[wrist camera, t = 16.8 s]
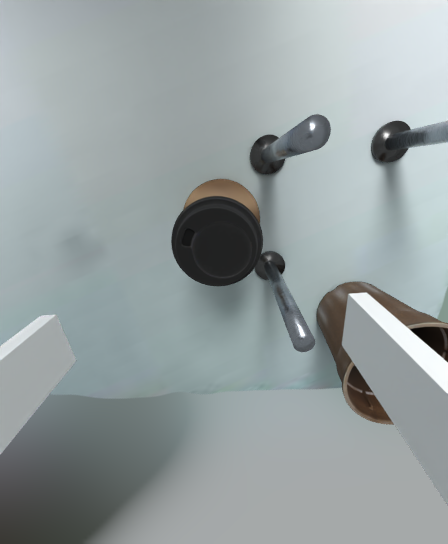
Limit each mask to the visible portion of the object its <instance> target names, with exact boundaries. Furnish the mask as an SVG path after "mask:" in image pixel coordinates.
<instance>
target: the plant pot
mask: <svg viewBox="0 0 448 544" xmlns="http://www.w3.org/2000/svg"><path fill="white" fill-rule="evenodd" d="M366 292H367V293H368V294H369V295H370V296H371V297H372V298H374V299H375V300H376V301H377V302H378V303H379V304H380V305H382V306H383V307H384V308H385V309H386V310H387V311H389V312H390V313H391V314H392V315H393V316H394V317H396V318H397V319H398V320H399V321H400V322H401V323H402V324H404V325H405V326H406V327H407V328H408V329H409V330H411V331H412V332H413V333H414V334H415V335H416V336H418V337H419V338H420V339H421V340H422V341H423V342H424V343H426V344H427V345H428V346H429V347H430V348H431V349H433V350H434V351H435V352H436V353H437V354H438V355H440V356H441V357H442V358H443V359H444V360H445V361H446V362H448V323H444V322H441V321H439V320H437V319H436V318H434V317H432V316H430V315H428V314H425V313H422V312H418V311H416V310H415V309H413V308H411V307H409V306H408V305H406V304H404V303H402V302H401V301H399V300H397V299H395V298H394V297H392V296H390V295H388V294H387V293H385V292H383V291H381V290H380V289H378V288H376V287H375V286H373V285H371V284H368V283H364V282H348V283H344V284H341V285H339V286H337V288H336V289H334V290H333V291H331V292H328V293H327V294H326V295H325V296H324V297H323V299H322V300H321V302H320V304H319V307H318V310H317V321H318V324H319V326H320V328H321V330H322V333H323V335H324V337H325V339H326V342H327V344H328V346H329V348H330V350H331V353H332V355H333V357H334V360H335V362H336V366H337V372H338V374H339V377H340V379H341V382H342V390H343V394H344V396H345V399H346V402H347V403H348V405H349V406H350V408H351V409H352V410H353V411H354V412H355V413H357V414H358V415H360V416H361V417H363V418H365V419H367V420H370V421H372V422H376V423H381V424H393V425H394V423H393V422H392V420H391V419H390V417H389V416H388V414H387V413H386V411H385V410H384V408H383V407H382V405H381V404H380V402H379V401H378V399H377V398H376V396H375V395H374V393H373V392H372V390H371V389H370V387H369V386H368V384H367V382H366V381H365V379H364V378H363V376H362V375H361V373H360V372H359V370H358V369H357V367H356V366H355V364H354V363H353V361H352V360H351V358H350V357H349V355H348V354H347V352H346V351H345V349H344V348H343V346H342V339H343V331H344V323H345V315H346V308H347V300H348V294H352V293H366Z"/></svg>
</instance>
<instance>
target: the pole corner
mask: <svg viewBox="0 0 448 544" xmlns="http://www.w3.org/2000/svg"><path fill="white" fill-rule="evenodd" d="M330 131H331V128H330V123H329V121H328V120H327V118H325V117H324V116H322V115H318V114H317V115H312V116H310V117H308V118H307V119H305V120H304V121H303V122H301V123H300V124H298V125H297V126H295V127H294V128H293V129H291V130H290V131H288V132H287V133H286V134H284V135H283V136H281V137H280V138H278V137H277V136H274V135H265V136H262V137H260V138H259V139H258V140H257V141H256V142H255V143H254V145H253V146H252V149H251V152H250V160H251V164H252V166H253V167H254V169H255V170H256V171H258V172H259V173H262V174H272V173H274V172H276V171H278V170H279V169H280V168H281V166H282V165H283V163H284V161H285V158H288V157H292V156H295V155H299V154H302V153H306V152H310V151H313V150H317V149H319V148H321V147H322V146H324V145H325V143H326V142H327V141H328V139H329V136H330Z"/></svg>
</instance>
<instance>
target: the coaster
mask: <svg viewBox="0 0 448 544" xmlns="http://www.w3.org/2000/svg"><path fill="white" fill-rule="evenodd" d="M210 196H223V197H228V198H232V199H234V200H237V201H239V202H240V203H242V204H243V205H245V206H246V207H247V208H248V209H249V210H251V212H252V213H253V214H254V215H255V217H256V218H257V220H258V222H259V223H260V214H259V208H258V205H257V203H256V201H255V199H254V197H253V196H252V194H251V193H250V192H249V191H248V190H247V189H246V188H245V187H243V186H242V185H240V184H239V183H237V182H234V181H231V180H227V179H216V180H211V181H208V182H205V183H203V184H201V185H200V186H198V187H197V188H196V189H195V190H194V191H193V192H192V193H191V194H190V196H189V197H188V199H187V201H186V203H185V206H184V209H185V208H186V207H187V206H188V205H190V204H191V203H193V202H195V201H197V200H199V199H201V198H205V197H210ZM184 209H183V210H184Z"/></svg>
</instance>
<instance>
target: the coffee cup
mask: <svg viewBox="0 0 448 544" xmlns="http://www.w3.org/2000/svg"><path fill="white" fill-rule="evenodd" d="M171 241H172V250H173V254H174V257H175V259H176V261H177V263H178V265H179V266H180V268H181V269H182V270H183V271H184V272H185V273H186V274H187V275H188V276H189V277H191V278H192V279H194V280H195V281H197V282H200V283H202V284H205V285H210V286H226V285H230V284H234V283H236V282H238V281H240V280H242V279H243V278H245V277H246V276H247V275H248V274H250V273H251V271H252V270H253V269H254V268H255V266H256V265H257V263H258V261H259V259H260V256H261V252H262V247H263V235H262V230H261V227H260V224H259V222H258V220H257V218H256V217H255V215H254V214H253V213H252V212H251V210H249V209H248V208H247V207H246V206H245V205H243V204H242V203H240V202H239V201H237V200H234V199H232V198H228V197H223V196H210V197H205V198H201V199H199V200H197V201H195V202H193V203H191V204H190V205H188V206H187V207H186V208H185V209H184V210H183V211H182V212H181V214H180V215H179V216H178V218H177V220H176V222H175V224H174V227H173V232H172V240H171Z"/></svg>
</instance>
